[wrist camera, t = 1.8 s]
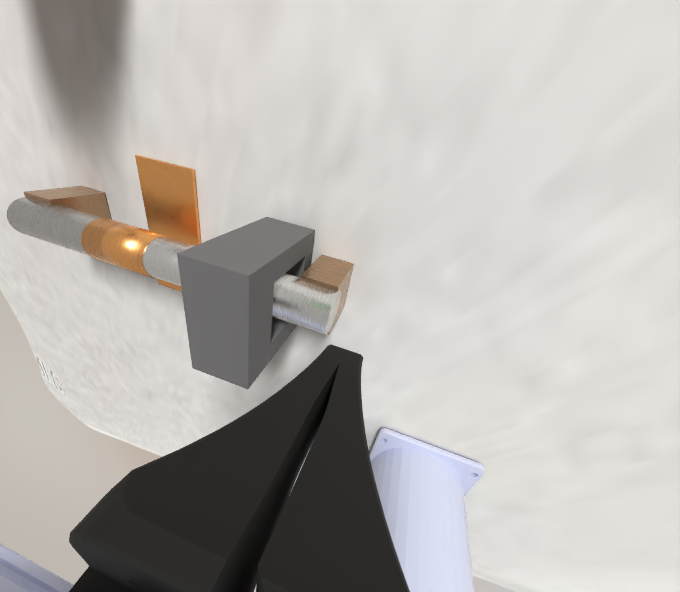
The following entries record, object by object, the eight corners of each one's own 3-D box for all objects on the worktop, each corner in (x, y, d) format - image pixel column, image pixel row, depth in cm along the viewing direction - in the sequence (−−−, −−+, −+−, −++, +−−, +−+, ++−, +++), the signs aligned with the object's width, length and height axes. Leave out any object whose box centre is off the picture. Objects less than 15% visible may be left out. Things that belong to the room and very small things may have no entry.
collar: (314, 230, 15) (248, 275, 10) (303, 316, 18) (248, 389, 13) (266, 216, 16) (176, 253, 10) (263, 303, 19) (192, 368, 13)
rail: (365, 212, 14) (342, 234, 11) (336, 341, 19) (313, 388, 15) (67, 137, 18) (-33, 133, 14) (103, 263, 22) (36, 286, 18)
